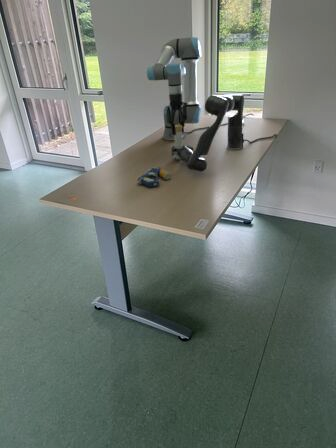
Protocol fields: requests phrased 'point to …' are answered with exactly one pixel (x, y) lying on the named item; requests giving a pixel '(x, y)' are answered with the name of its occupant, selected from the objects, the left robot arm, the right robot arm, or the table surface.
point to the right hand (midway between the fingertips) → (177, 146)
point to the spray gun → (153, 174)
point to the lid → (178, 127)
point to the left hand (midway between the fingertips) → (178, 133)
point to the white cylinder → (178, 141)
